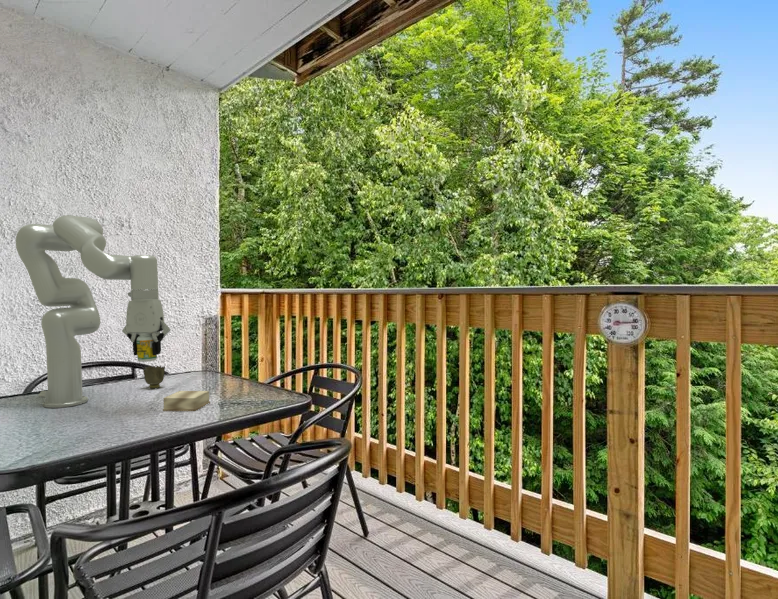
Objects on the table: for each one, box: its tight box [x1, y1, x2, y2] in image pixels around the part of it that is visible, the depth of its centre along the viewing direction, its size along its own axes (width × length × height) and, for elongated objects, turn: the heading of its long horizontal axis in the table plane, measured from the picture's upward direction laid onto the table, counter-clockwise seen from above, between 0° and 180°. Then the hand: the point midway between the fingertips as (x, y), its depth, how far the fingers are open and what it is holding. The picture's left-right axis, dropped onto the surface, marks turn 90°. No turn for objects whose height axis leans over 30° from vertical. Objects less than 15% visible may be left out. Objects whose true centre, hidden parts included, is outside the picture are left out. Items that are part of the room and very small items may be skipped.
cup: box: [142, 365, 166, 390], centre depth 187 cm, size 8×7×8 cm
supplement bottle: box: [136, 333, 158, 363], centre depth 153 cm, size 5×5×10 cm
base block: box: [162, 390, 211, 412], centre depth 159 cm, size 10×10×4 cm
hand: (147, 354), depth 153 cm, fingers closed on supplement bottle, 5 cm apart
